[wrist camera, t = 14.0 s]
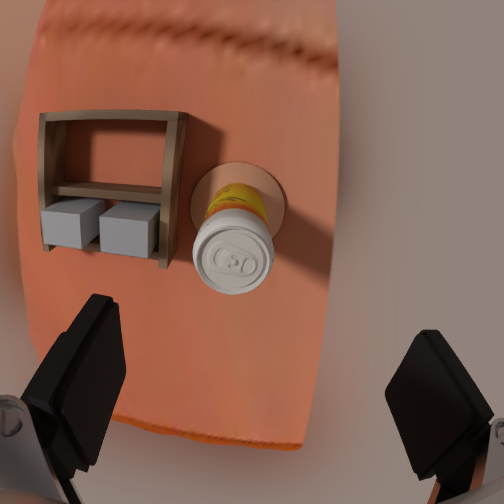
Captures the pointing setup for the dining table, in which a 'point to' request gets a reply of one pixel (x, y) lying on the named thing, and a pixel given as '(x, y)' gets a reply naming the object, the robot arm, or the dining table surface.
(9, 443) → the robot arm
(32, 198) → the dining table surface
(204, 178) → the coaster
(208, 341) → the dining table surface
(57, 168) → the rack
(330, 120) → the dining table surface
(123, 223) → the offcut
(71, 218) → the offcut
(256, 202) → the beer can
